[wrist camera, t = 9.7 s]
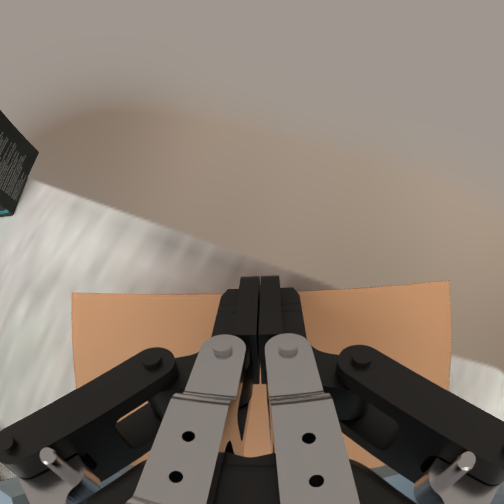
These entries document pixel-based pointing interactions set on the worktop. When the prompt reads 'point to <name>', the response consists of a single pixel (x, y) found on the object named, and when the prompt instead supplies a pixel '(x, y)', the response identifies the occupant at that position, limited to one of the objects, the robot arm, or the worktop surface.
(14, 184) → the tampon box
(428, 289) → the panel
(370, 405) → the robot arm
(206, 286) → the worktop surface
